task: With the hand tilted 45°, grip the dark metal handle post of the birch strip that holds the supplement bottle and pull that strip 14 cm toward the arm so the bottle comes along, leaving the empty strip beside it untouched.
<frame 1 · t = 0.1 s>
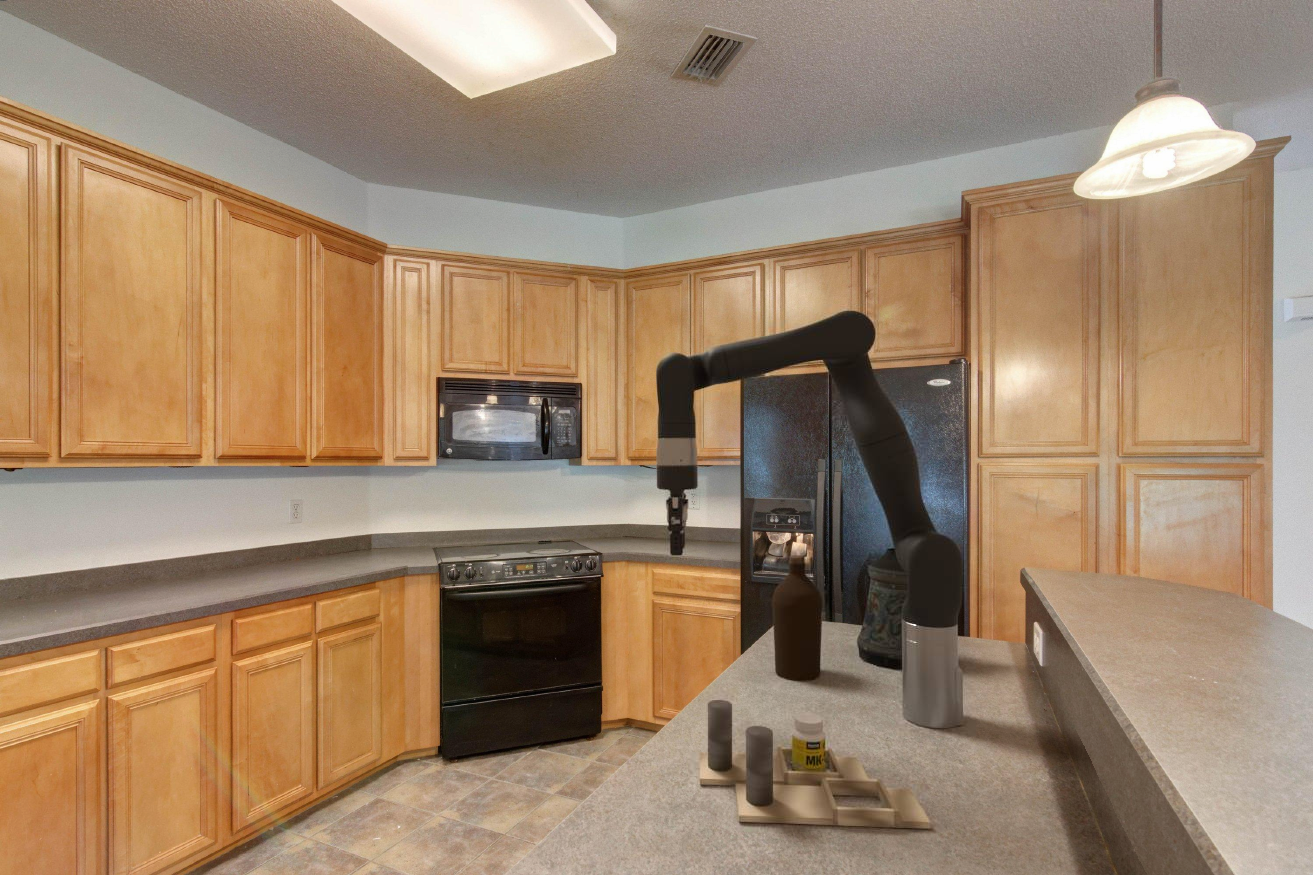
hand: (677, 551, 119), 29 cm above the counter, tool pointing down, fingers open, 8 cm apart
can strip: (781, 739, 96), point 5 cm above the counter, slide at 0.0 cm
olive oil: (798, 674, 139), on the counter
beer stein: (900, 658, 149), on the counter
empty strip: (827, 770, 86), point 5 cm above the counter, slide at 0.0 cm
supplement bottle: (808, 776, 95), resting in can strip
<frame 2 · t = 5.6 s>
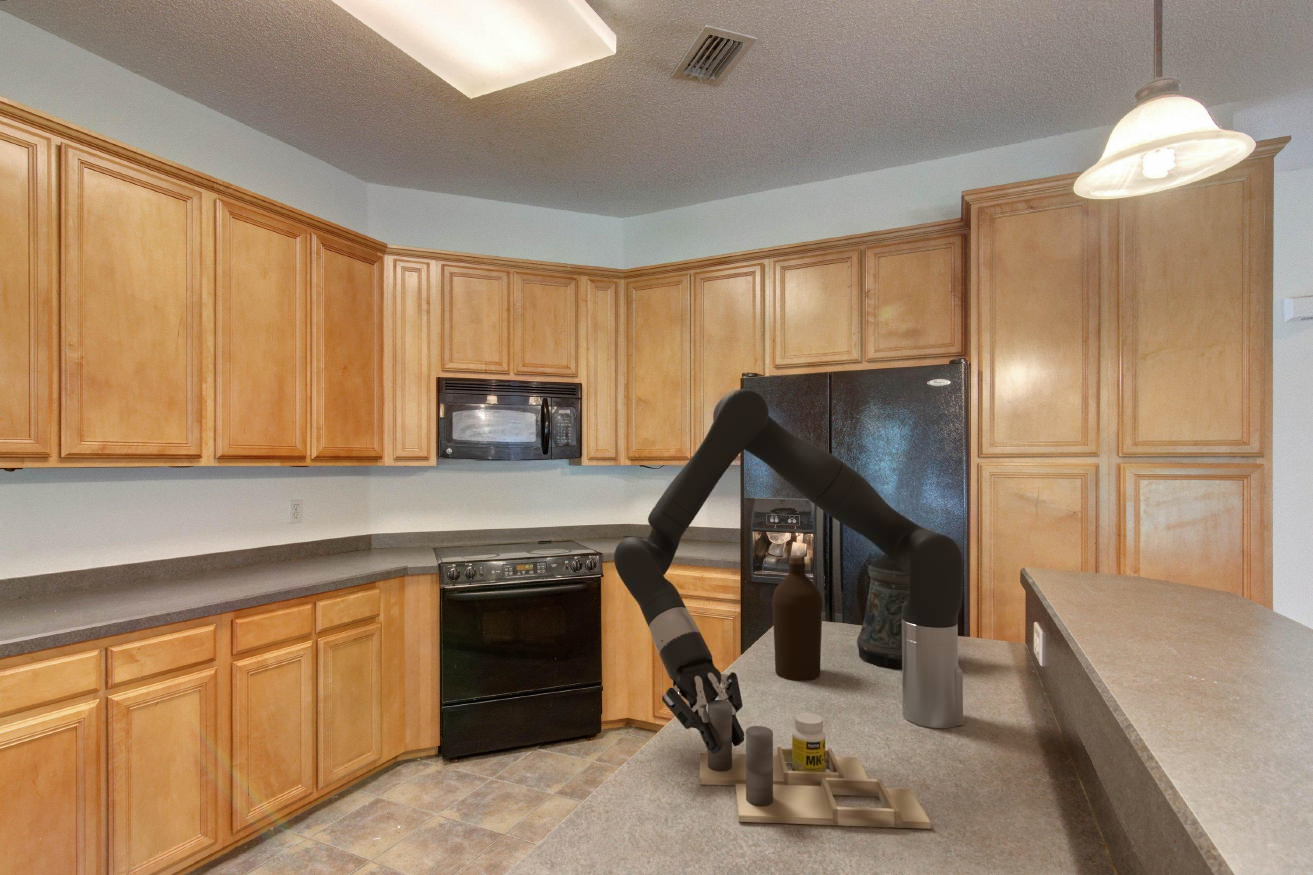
hand: (728, 746, 95), 5 cm above the counter, tool tilted 45°, fingers closed on can strip, 3 cm apart
can strip: (781, 739, 96), point 5 cm above the counter, slide at 0.0 cm, touching gripper
everything else where it was.
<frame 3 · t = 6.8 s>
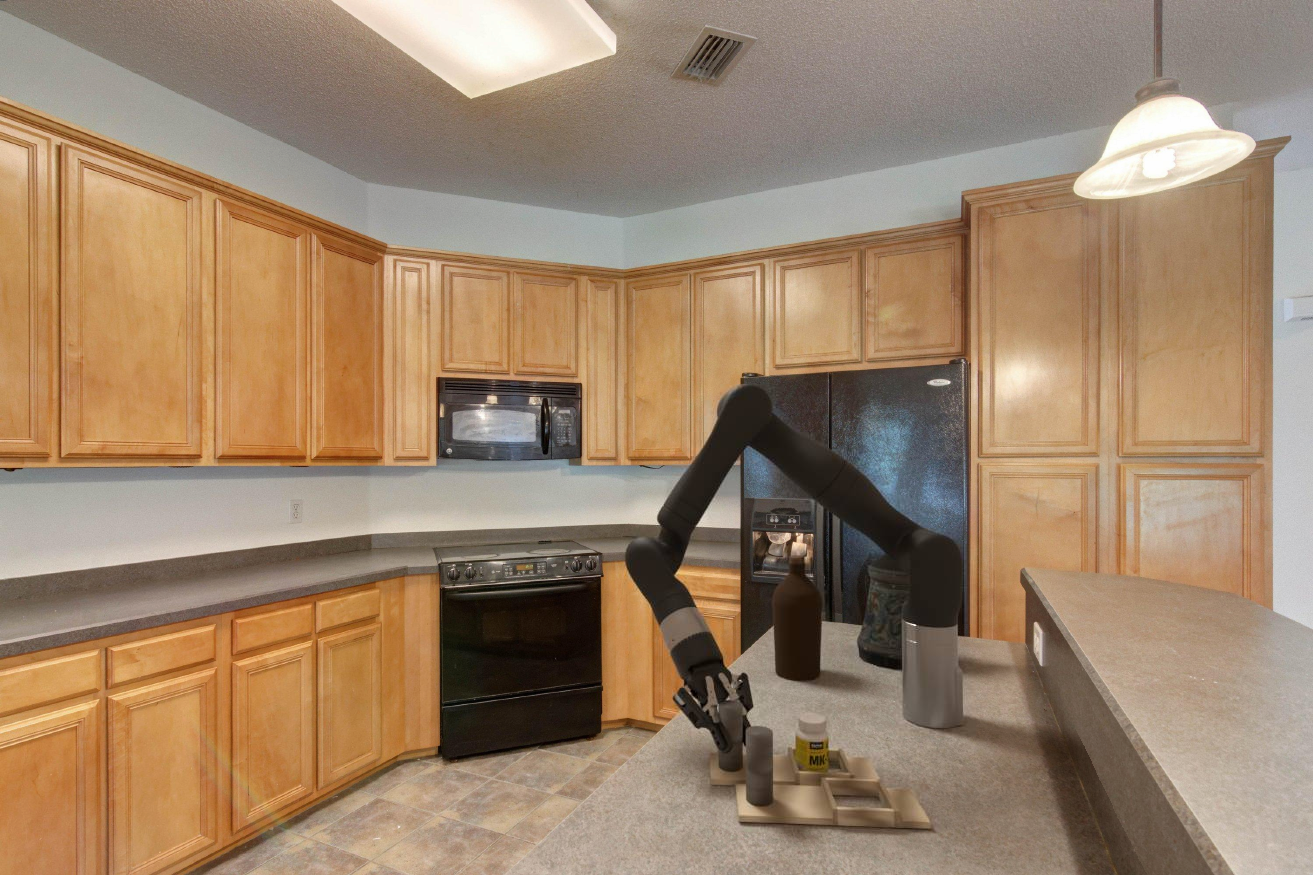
hand: (739, 746, 95), 5 cm above the counter, tool tilted 45°, fingers closed on can strip, 3 cm apart
can strip: (791, 739, 96), point 5 cm above the counter, slide at 1.6 cm, touching supplement bottle, gripper
supplement bottle: (811, 776, 95), resting in can strip
everything else where it was.
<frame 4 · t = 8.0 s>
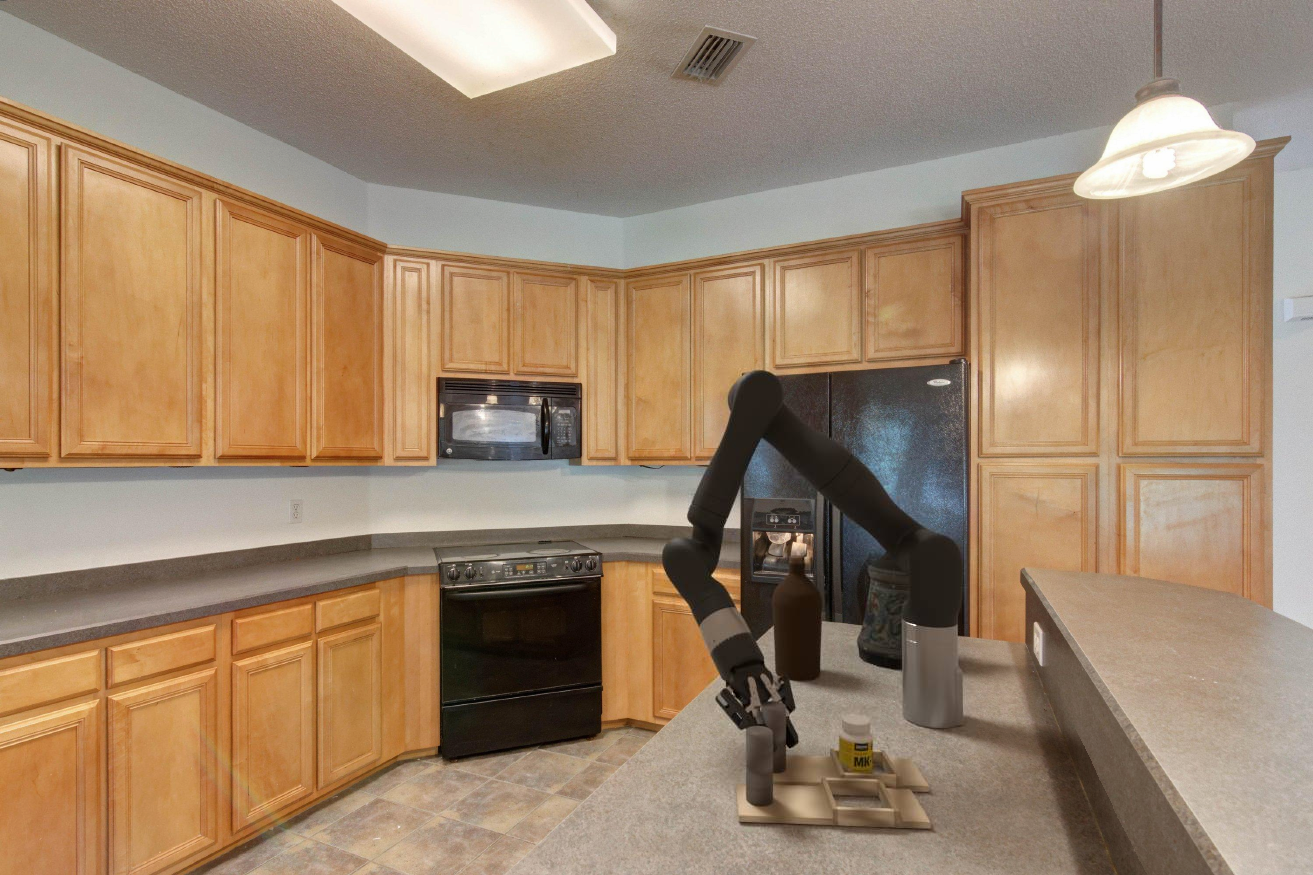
hand: (783, 748, 94), 4 cm above the counter, tool tilted 45°, fingers closed on can strip, 3 cm apart
can strip: (835, 740, 95), point 5 cm above the counter, slide at 7.9 cm, touching supplement bottle, gripper
supplement bottle: (855, 778, 95), resting in can strip
everything else where it was.
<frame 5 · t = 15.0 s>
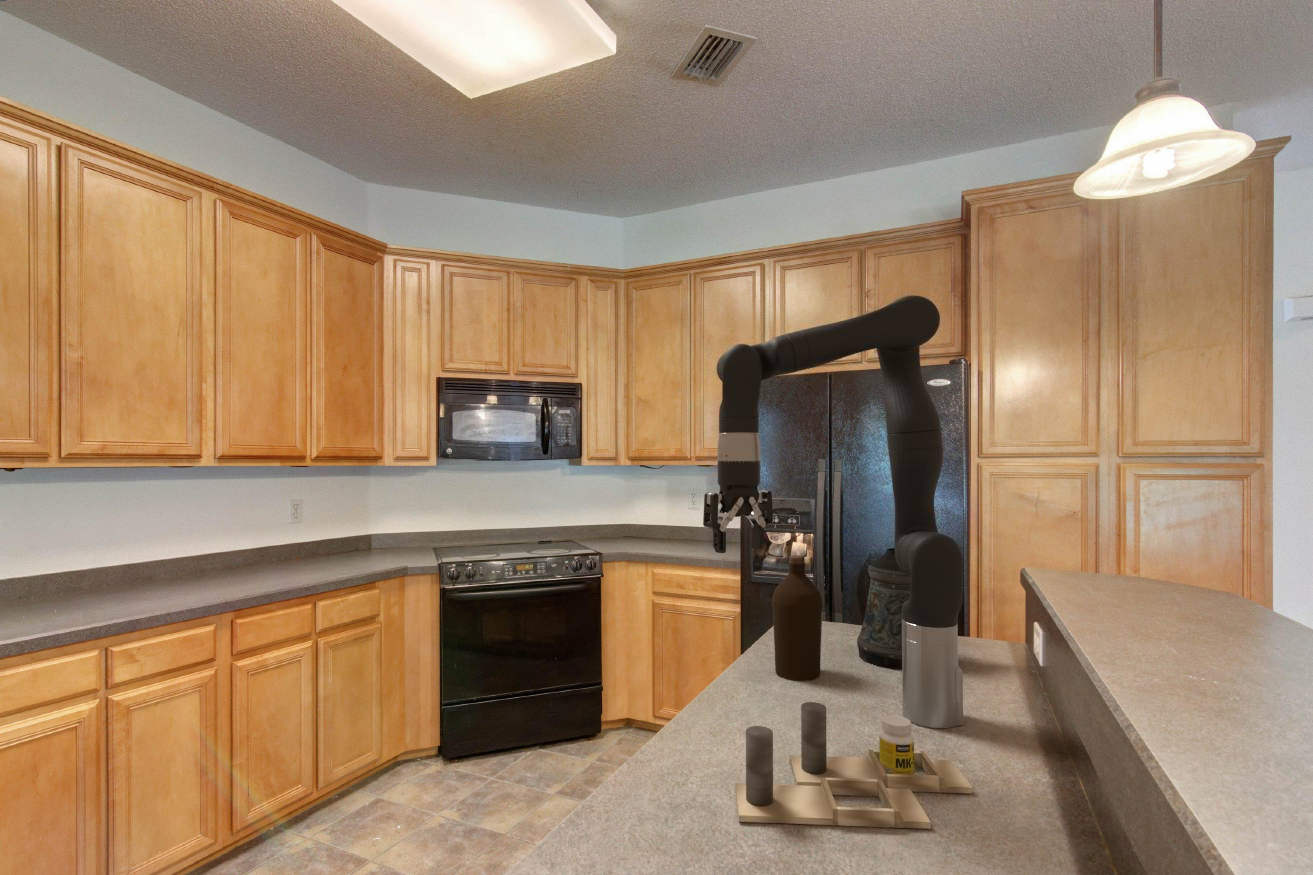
hand: (739, 550, 115), 30 cm above the counter, tool pointing down, fingers open, 8 cm apart
can strip: (876, 742, 95), point 5 cm above the counter, slide at 13.8 cm
supplement bottle: (896, 779, 95), resting in can strip
everything else where it was.
at the end: can strip slide at 13.8 cm; supplement bottle inside the target area (0.4 cm from its centre), resting in can strip; empty strip slide at 0.0 cm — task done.
